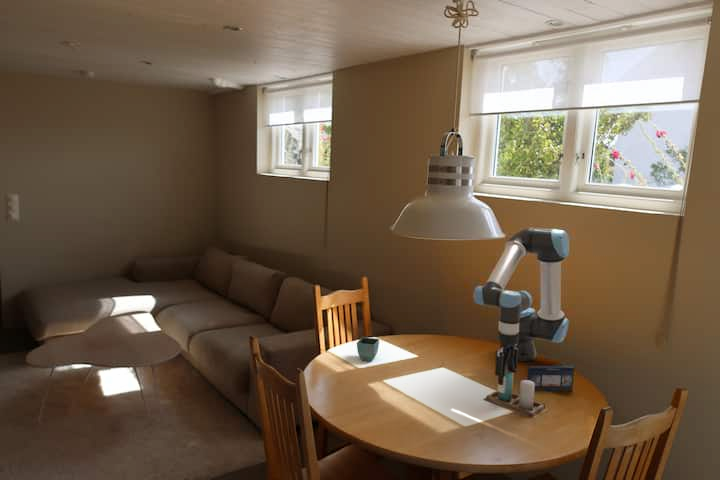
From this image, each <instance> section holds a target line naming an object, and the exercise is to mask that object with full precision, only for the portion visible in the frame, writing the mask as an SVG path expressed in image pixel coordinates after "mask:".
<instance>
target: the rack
mask: <svg viewBox="0 0 720 480" xmlns="http://www.w3.org/2000/svg"><path fill="white" fill-rule="evenodd" d="M482 400H483V401H485V402H488V403H491V404H492V405H496V406H498V407H501V408H503V409H505V410H509V411H512V412H514V413H516V414H519V415H520V416H524V417H527V418H529V419H531V420H535V419H536V418H537V417H539V416H540V415H541V414H543V413H545V412H547V410H549V408H550V407H549V408H548V407H546V404H545V403H542V402H539V401H537V400H534V402H533V410H532V411H529V410H526V409H523V408H521V407H519V400H520V394H517V393H514V392H512V398H511V400H510V401H503V400H500V399H499V398H498V389H497V390H495V391H493V392H491V393H489V394H487V395H486V397H485V398H483V399H482Z"/></svg>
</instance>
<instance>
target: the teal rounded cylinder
mask: <svg viewBox="0 0 720 480" xmlns="http://www.w3.org/2000/svg"><path fill="white" fill-rule="evenodd" d="M505 377H506V384H505V393H501V392H498V398H499V399H500V400H503V401H510V400H511V398H512V393H513V389H512V381H513V382H514V372H513V373H511V372H508V370H506V371H505Z"/></svg>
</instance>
